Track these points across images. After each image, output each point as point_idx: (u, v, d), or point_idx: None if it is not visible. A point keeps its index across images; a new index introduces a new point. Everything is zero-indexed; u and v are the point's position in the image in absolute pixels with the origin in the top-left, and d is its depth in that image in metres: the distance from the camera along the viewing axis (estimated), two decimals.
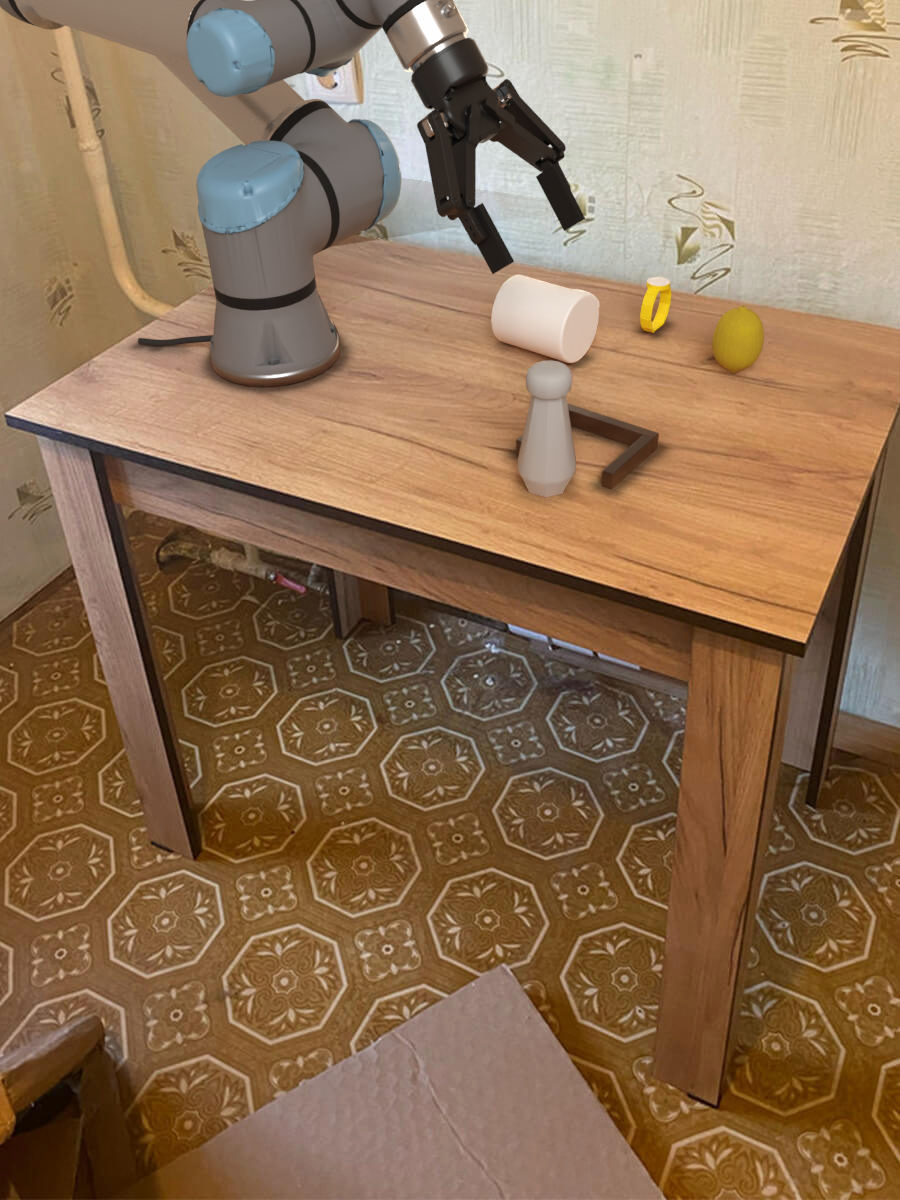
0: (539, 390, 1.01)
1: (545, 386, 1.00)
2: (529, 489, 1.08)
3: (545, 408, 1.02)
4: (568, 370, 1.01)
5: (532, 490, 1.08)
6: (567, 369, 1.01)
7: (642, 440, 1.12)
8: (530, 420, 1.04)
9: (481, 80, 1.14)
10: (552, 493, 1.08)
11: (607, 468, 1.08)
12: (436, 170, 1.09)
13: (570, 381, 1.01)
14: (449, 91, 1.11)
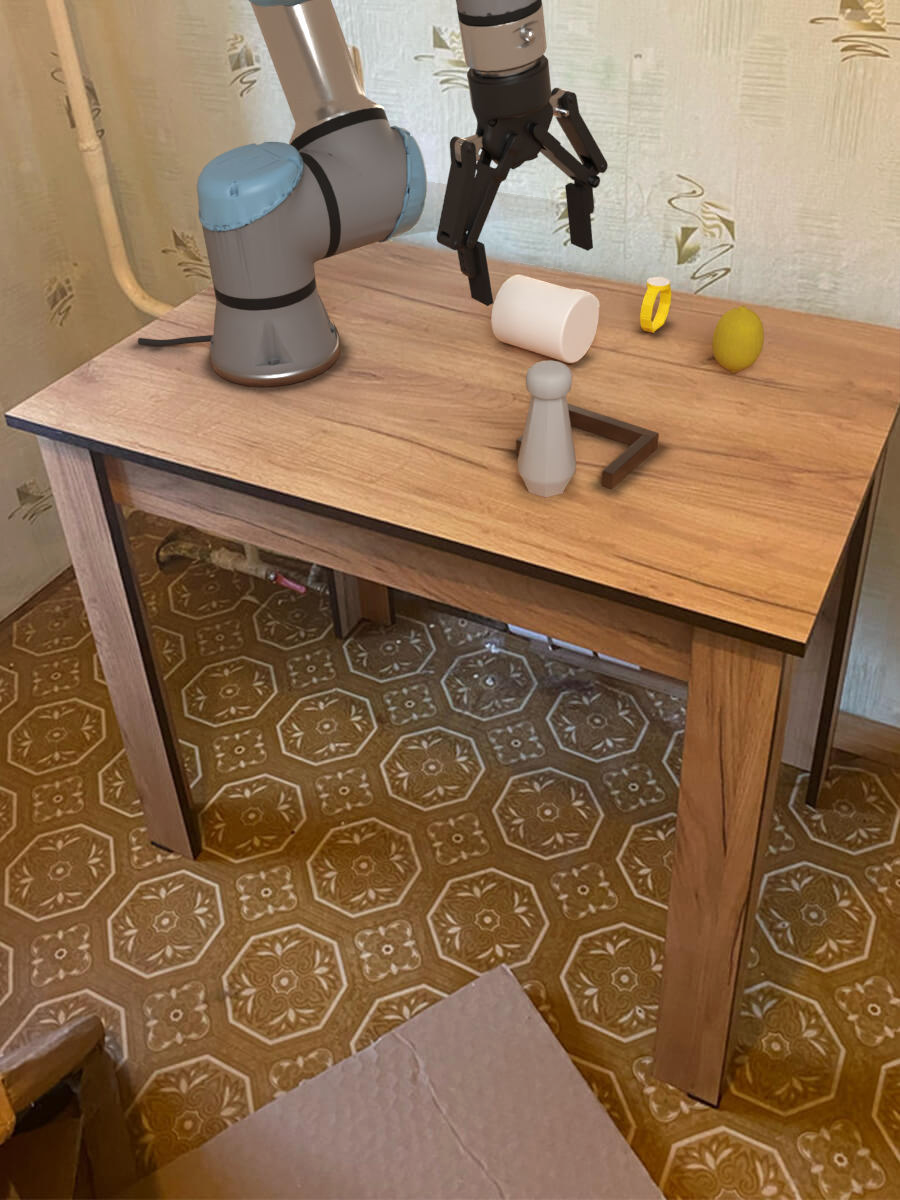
0: (538, 390, 1.01)
1: (545, 386, 1.00)
2: (529, 489, 1.08)
3: (545, 408, 1.02)
4: (568, 370, 1.01)
5: (532, 490, 1.08)
6: (567, 369, 1.01)
7: (642, 440, 1.12)
8: (530, 420, 1.04)
9: None
10: (552, 493, 1.08)
11: (607, 468, 1.08)
12: (450, 200, 1.05)
13: (570, 381, 1.01)
14: None
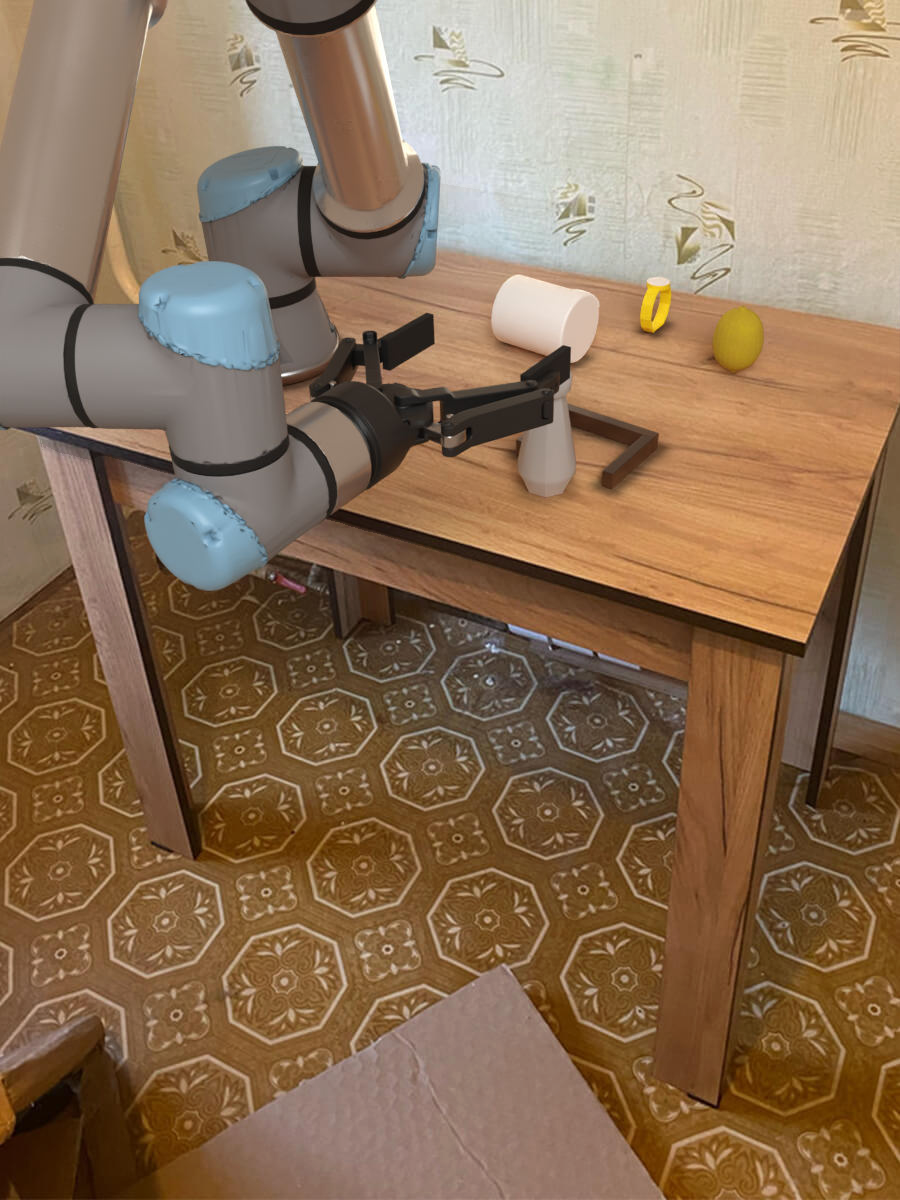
0: None
1: None
2: (529, 489, 1.08)
3: None
4: None
5: (532, 490, 1.08)
6: None
7: (642, 440, 1.12)
8: None
9: None
10: (552, 493, 1.08)
11: (607, 468, 1.08)
12: None
13: (570, 381, 1.01)
14: None
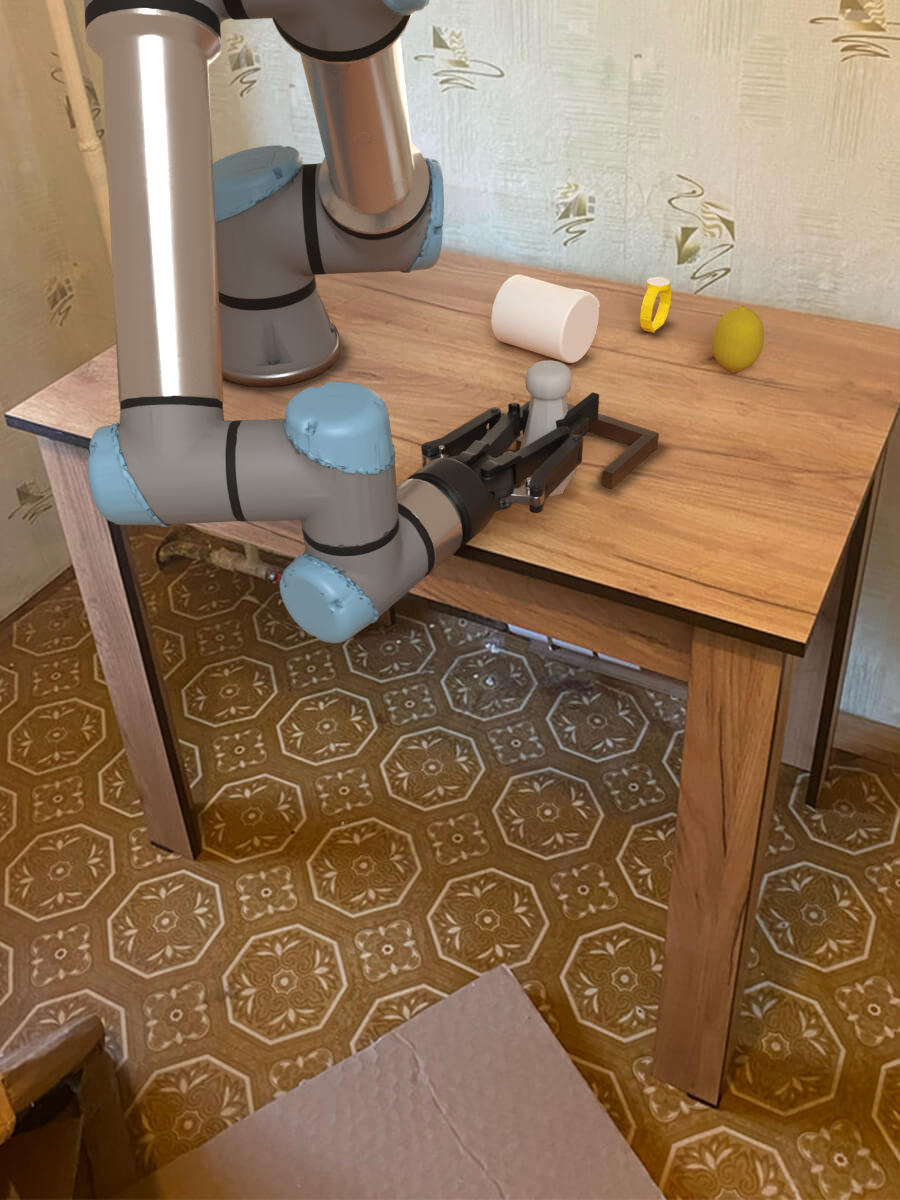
0: (538, 390, 1.01)
1: (545, 386, 1.00)
2: None
3: (545, 408, 1.02)
4: (568, 370, 1.01)
5: None
6: (567, 369, 1.01)
7: (642, 440, 1.12)
8: (530, 419, 1.04)
9: None
10: (552, 493, 1.08)
11: (607, 468, 1.08)
12: None
13: (570, 381, 1.01)
14: None
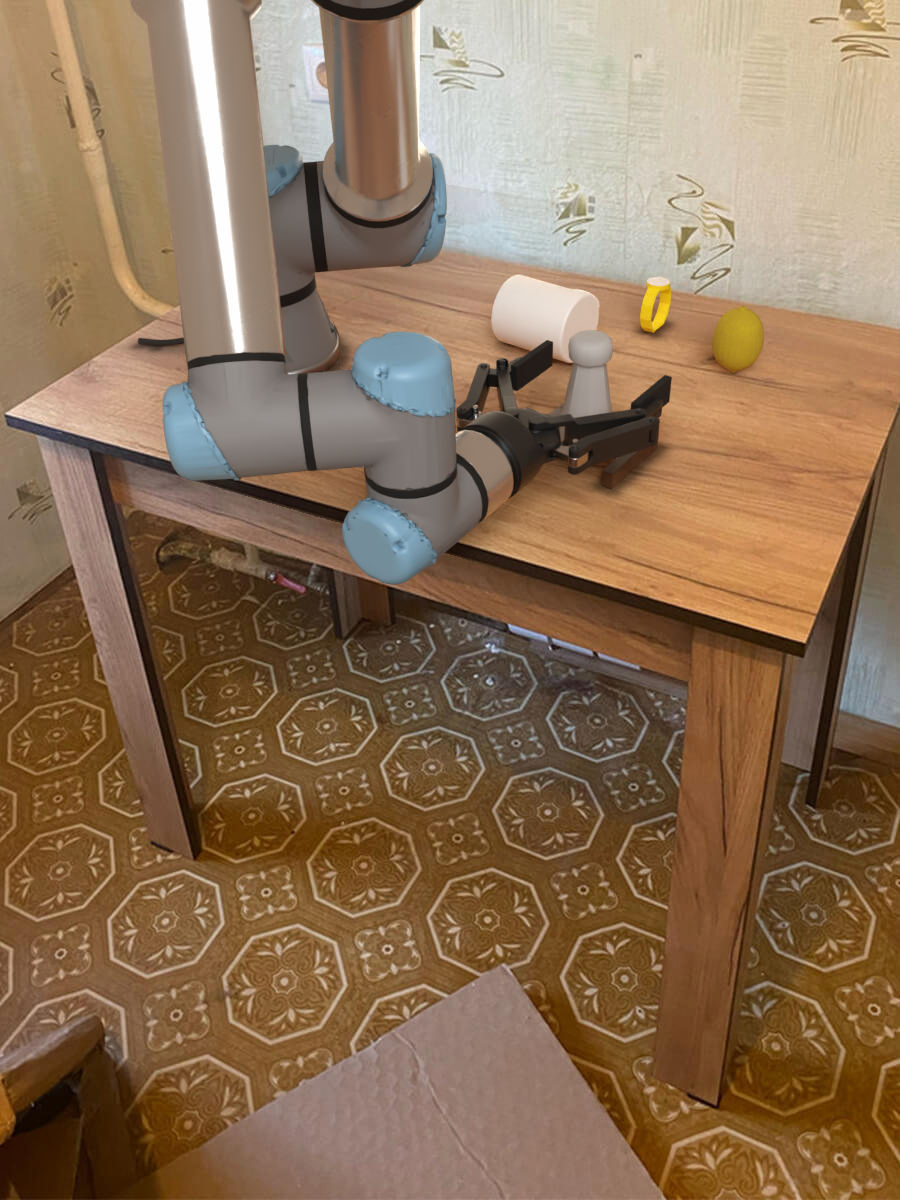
0: (582, 358, 1.05)
1: (589, 354, 1.05)
2: None
3: (588, 376, 1.07)
4: (609, 338, 1.06)
5: None
6: (608, 337, 1.06)
7: None
8: (572, 387, 1.08)
9: None
10: None
11: (607, 468, 1.08)
12: None
13: (611, 348, 1.06)
14: None
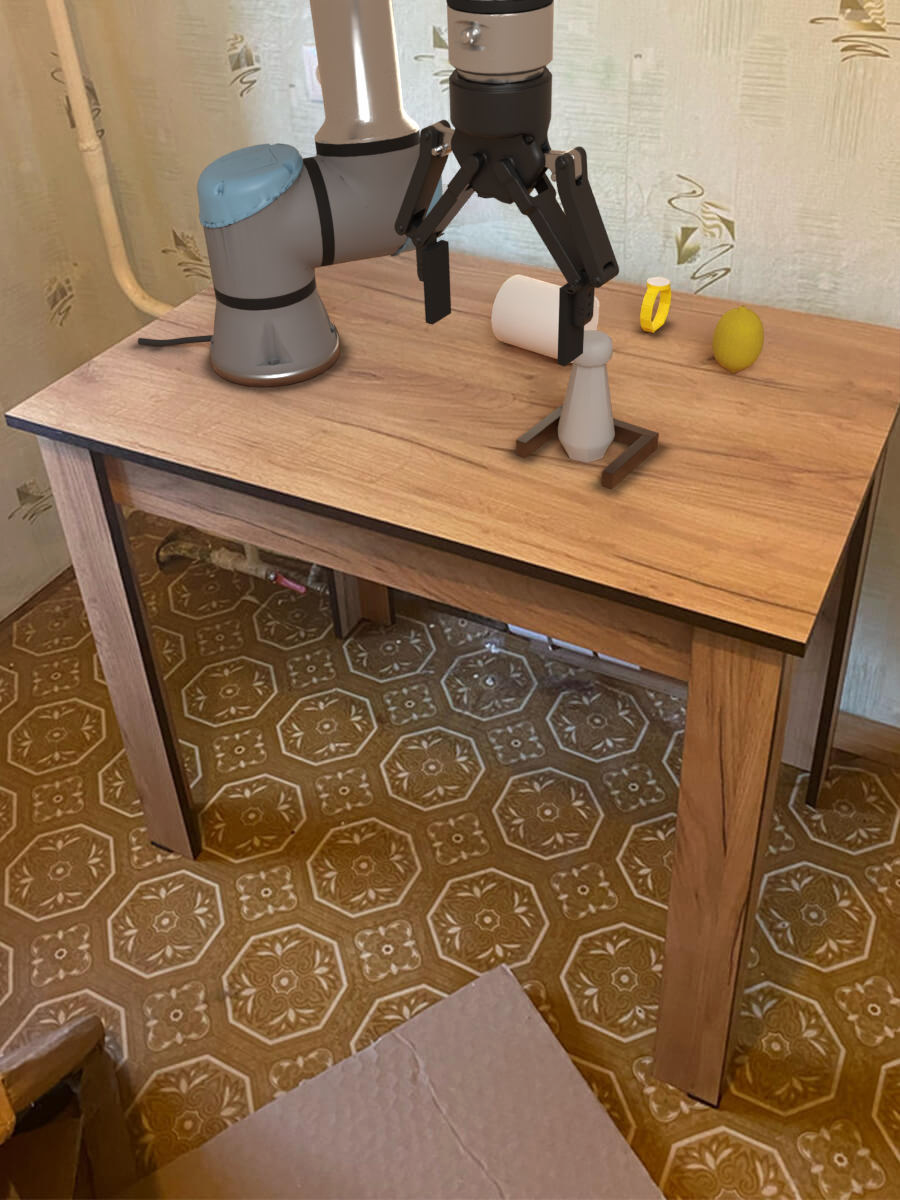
0: (582, 358, 1.05)
1: (589, 354, 1.05)
2: (570, 455, 1.13)
3: (588, 376, 1.07)
4: (609, 338, 1.06)
5: (573, 456, 1.12)
6: (608, 337, 1.06)
7: (642, 440, 1.12)
8: (572, 387, 1.08)
9: (522, 135, 0.80)
10: (593, 458, 1.12)
11: (607, 468, 1.08)
12: None
13: (611, 348, 1.06)
14: None
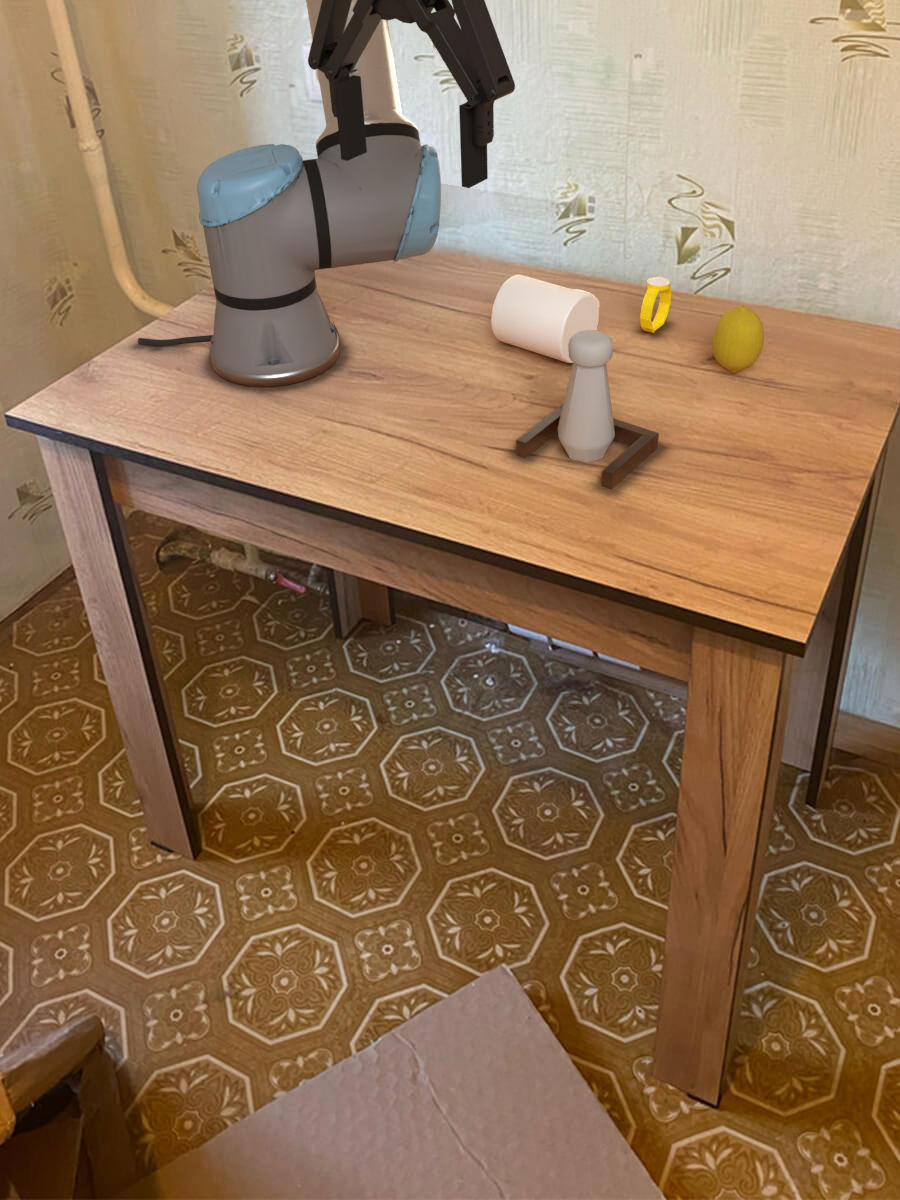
0: (582, 358, 1.05)
1: (589, 354, 1.05)
2: (570, 455, 1.13)
3: (588, 376, 1.07)
4: (609, 338, 1.06)
5: (573, 456, 1.12)
6: (608, 337, 1.06)
7: (642, 440, 1.12)
8: (572, 387, 1.08)
9: None
10: (593, 458, 1.12)
11: (607, 468, 1.08)
12: None
13: (611, 348, 1.06)
14: None
